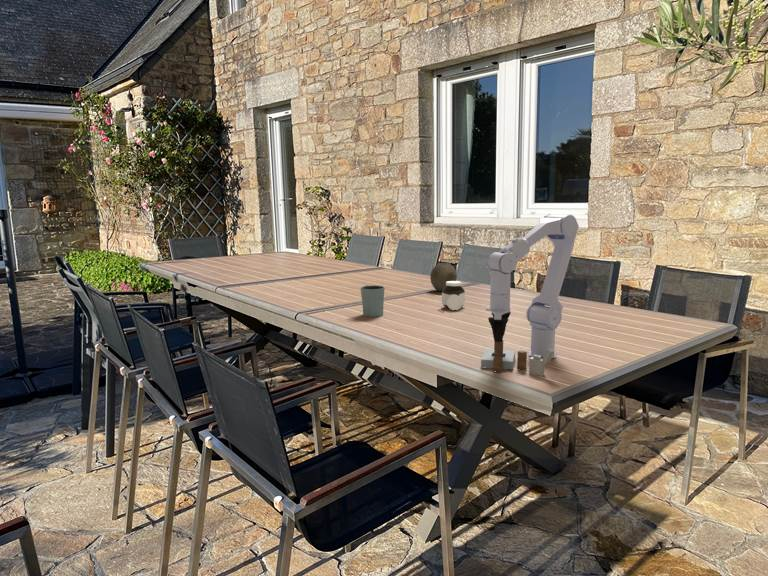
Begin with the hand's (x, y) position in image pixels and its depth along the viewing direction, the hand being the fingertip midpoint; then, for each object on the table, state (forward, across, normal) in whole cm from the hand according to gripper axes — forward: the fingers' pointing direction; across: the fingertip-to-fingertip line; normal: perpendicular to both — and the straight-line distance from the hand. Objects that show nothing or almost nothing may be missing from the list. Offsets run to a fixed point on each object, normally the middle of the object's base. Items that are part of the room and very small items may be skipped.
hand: (499, 338), depth 169 cm
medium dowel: (+8, +4, +7) cm, 11 cm away
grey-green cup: (+8, -58, -58) cm, 82 cm away
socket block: (+8, 0, 0) cm, 8 cm away
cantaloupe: (+8, -126, -40) cm, 132 cm away
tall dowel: (+8, 0, 0) cm, 8 cm away
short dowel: (+8, +8, 0) cm, 11 cm away
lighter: (+8, +9, +12) cm, 17 cm away
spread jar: (+8, -81, -27) cm, 86 cm away
